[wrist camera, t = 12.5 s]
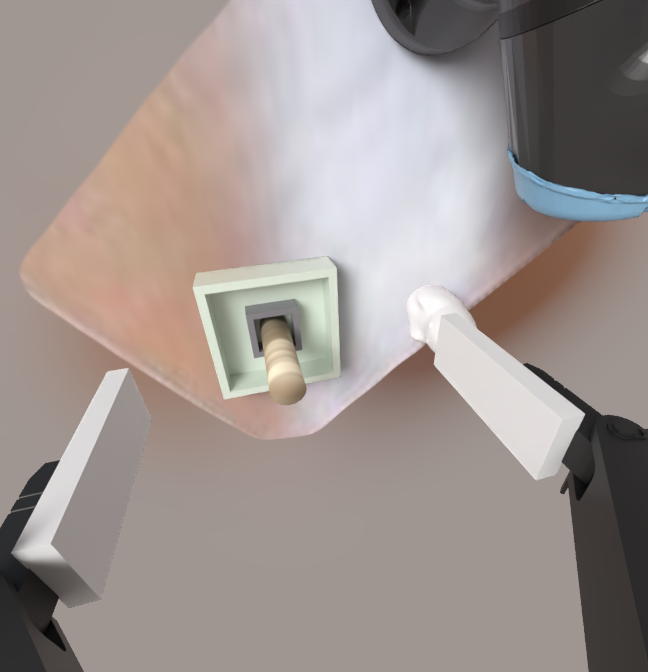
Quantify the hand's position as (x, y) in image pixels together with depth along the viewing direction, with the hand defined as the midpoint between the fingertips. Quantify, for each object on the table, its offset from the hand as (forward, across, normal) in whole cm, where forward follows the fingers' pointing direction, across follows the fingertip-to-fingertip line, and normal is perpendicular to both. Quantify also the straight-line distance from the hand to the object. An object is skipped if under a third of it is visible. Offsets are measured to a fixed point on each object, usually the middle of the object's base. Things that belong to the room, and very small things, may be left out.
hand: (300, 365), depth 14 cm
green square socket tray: (+29, 0, -13) cm, 32 cm away
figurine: (+29, +22, -14) cm, 39 cm away
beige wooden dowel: (+28, 0, -13) cm, 31 cm away
